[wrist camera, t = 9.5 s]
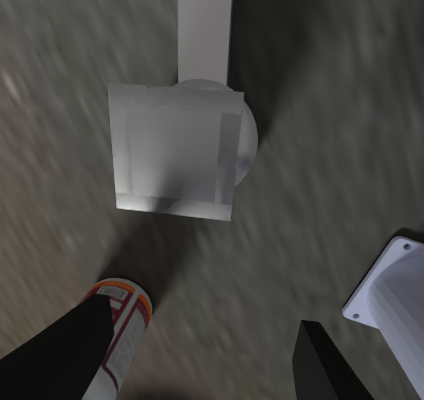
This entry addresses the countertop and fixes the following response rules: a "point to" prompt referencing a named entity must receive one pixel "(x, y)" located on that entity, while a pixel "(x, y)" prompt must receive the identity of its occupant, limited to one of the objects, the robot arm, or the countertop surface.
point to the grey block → (175, 149)
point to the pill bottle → (120, 334)
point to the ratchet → (212, 63)
